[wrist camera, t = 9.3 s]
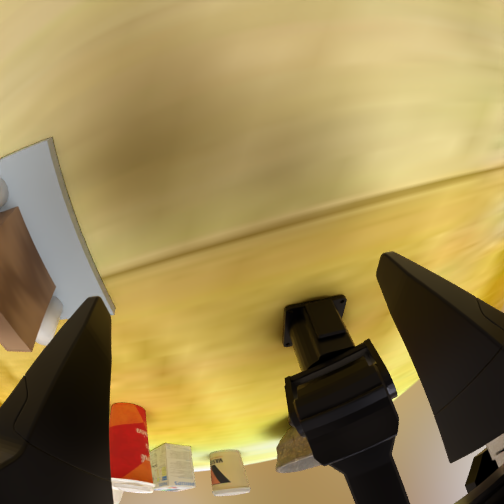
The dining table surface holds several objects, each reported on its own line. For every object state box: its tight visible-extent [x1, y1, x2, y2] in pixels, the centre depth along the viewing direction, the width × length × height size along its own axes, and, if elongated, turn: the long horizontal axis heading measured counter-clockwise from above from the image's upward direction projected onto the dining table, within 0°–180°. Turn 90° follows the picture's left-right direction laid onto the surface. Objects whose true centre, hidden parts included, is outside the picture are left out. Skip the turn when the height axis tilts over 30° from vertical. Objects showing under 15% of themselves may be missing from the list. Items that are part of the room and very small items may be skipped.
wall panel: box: [0, 137, 115, 345], centre depth 17 cm, size 16×11×5 cm
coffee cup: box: [210, 450, 250, 496], centre depth 54 cm, size 9×9×12 cm
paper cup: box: [109, 403, 155, 493], centre depth 31 cm, size 8×8×14 cm
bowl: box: [276, 426, 321, 473], centre depth 47 cm, size 21×21×10 cm
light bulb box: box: [150, 443, 196, 491], centre depth 48 cm, size 11×7×11 cm, turn 143°
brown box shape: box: [0, 206, 56, 352], centre depth 15 cm, size 8×3×7 cm, turn 3°
